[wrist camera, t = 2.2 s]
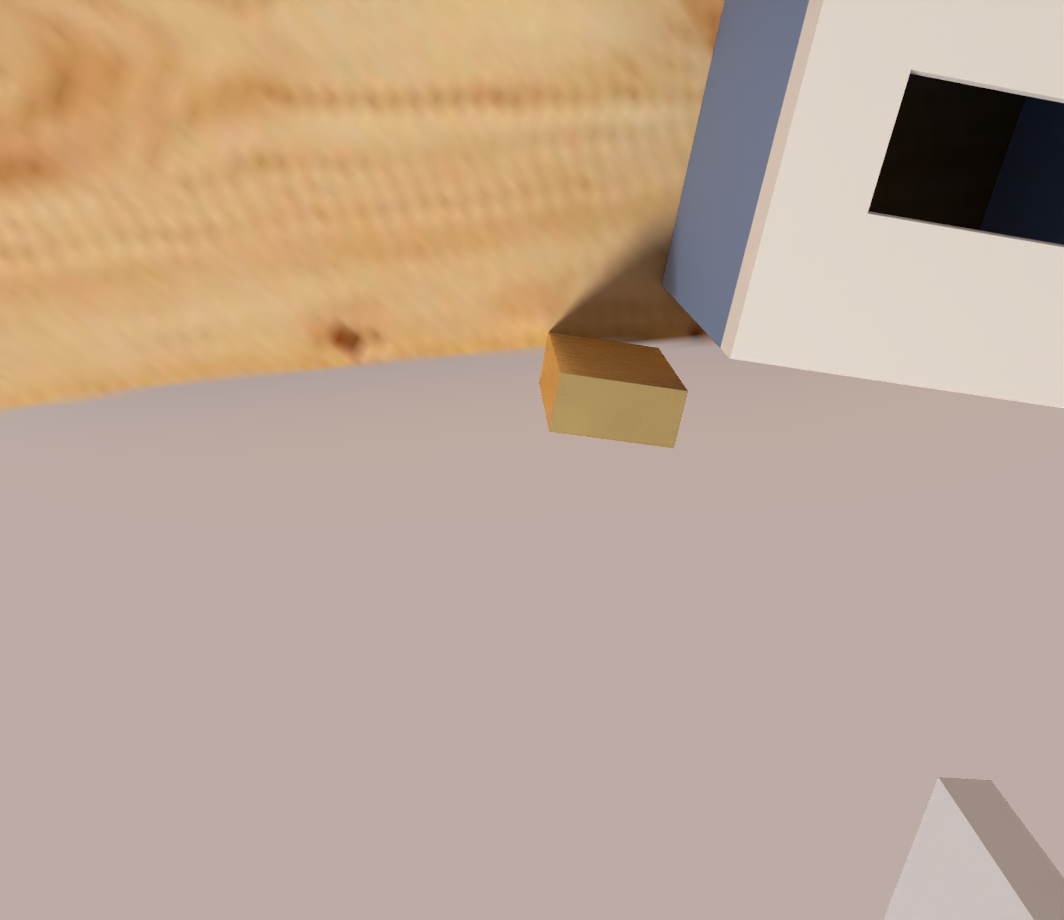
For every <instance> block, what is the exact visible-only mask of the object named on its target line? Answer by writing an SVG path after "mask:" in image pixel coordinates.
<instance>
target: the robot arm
mask: <svg viewBox="0 0 1064 920" xmlns="http://www.w3.org/2000/svg"><path fill="white" fill-rule="evenodd" d="M884 920H1064V878H1063V876H1062V875H1061V874H1060V872H1059V871H1058V870H1057V868H1056V867H1055V866H1054V864H1053V863H1052V862H1051V860H1050V859H1049V858H1048V857H1047V855H1046V854H1045V852H1044V851H1043V850H1042V848H1041V847H1040V846H1039V844H1038V843H1037V841H1035V839H1034V838H1033V836H1032V835H1031V834H1030V832H1029V831H1028V829H1027V828H1026V827H1025V825H1024V824H1023V823H1022V822H1021V820H1020V819H1019V817H1018V816H1017V815H1016V813H1015V812H1014V811H1013V809H1012V808H1011V807H1010V805H1009V804H1008V802H1007V801H1006V800H1005V798H1004V797H1003V796H1002V794H1001V793H1000V792H999V790H998V789H997V788H996V787H995V785H994V784H993V782H992V781H991V780H975V779H959V778H942V777H939V778H938V780H937V782H936V785H935V788H934V790H933V793H932V795H931V798H930V801H929V803H928V806H927V808H926V811H925V814H924V816H923V819H922V821H921V824H920V827H919V829H918V832H917V835H916V837H915V840H914V842H913V845H912V847H911V850H910V853H909V855H908V858H907V860H906V863H905V866H904V869H903V871H902V873H901V876H900V879H899V881H898V884H897V886H896V889H895V892H894V894H893V897H892V899H891V902H890V905H889V907H888V910H887V912H886V915H885V918H884Z"/></svg>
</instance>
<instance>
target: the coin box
mask: <svg viewBox="0 0 1064 920" xmlns="http://www.w3.org/2000/svg"><path fill="white" fill-rule="evenodd" d="M910 74H915V75H920V76H925V77H931V78H936V79H941V80H946V81H951V82H957V83H962V84H967V85H972V86H977V87H982V88H988V89H993V90H998V91H1003V92H1008V93H1013V94H1019V95H1024V96H1026V99H1025V102H1024V105H1023V108H1022V111H1021V113H1020V116H1019V119H1018V122H1017V125H1016V128H1015V130H1014V133H1013V136H1012V139H1011V142H1010V145H1009V147H1008V150H1007V153H1006V156H1005V159H1004V162H1003V164H1002V167H1001V170H1000V173H999V176H998V179H997V181H996V184H995V187H994V190H993V193H992V196H991V198H990V201H989V204H988V207H987V210H986V213H985V215H984V218H983V221H982V224H981V227H980V230H974V229H968V228H963V227H957V226H951V225H945V224H939V223H934V222H928V221H922V220H916V219H910V218H905V217H899V216H893V215H887V214H881V213H876V212H870V211H868V210H869V207H870V204H871V200H872V197H873V194H874V190H875V187H876V184H877V181H878V177H879V174H880V171H881V167H882V164H883V161H884V157H885V154H886V151H887V148H888V144H889V141H890V138H891V134H892V131H893V128H894V124H895V121H896V118H897V115H898V111H899V108H900V105H901V101H902V98H903V95H904V91H905V88H906V85H907V82H908V78H909V75H910ZM662 286H663V287H664V288H665V289H666V290H667V291H668V292H669V294H670V295H671V296H672V297H673V298H674V299H675V300H676V301H677V302H678V303H679V304H680V305H681V306H682V308H683V309H684V310H685V311H686V312H687V313H688V314H689V315H690V316H691V317H692V318H693V319H694V320H695V322H696V323H697V324H698V325H699V326H700V327H701V328H702V329H703V330H704V331H705V332H706V333H707V334H708V336H709V337H710V338H711V339H712V340H713V341H714V342H715V343H716V344H717V345H718V346H719V347H720V348H721V350H723V352H724V353H725V354H726V355H727V356H728V357H729V358H730V359H736V360H743V361H750V362H757V363H763V364H770V365H776V366H783V367H790V368H797V369H803V370H810V371H817V372H823V373H831V374H837V375H844V376H851V377H857V378H864V379H871V380H877V381H884V382H891V383H898V384H904V385H911V386H918V387H924V388H931V389H938V390H945V391H951V392H958V393H965V394H972V395H978V396H985V397H993V398H998V399H1006V400H1012V401H1019V402H1026V403H1032V404H1039V405H1046V406H1052V407H1060V408H1064V0H725V3H724V7H723V12H722V16H721V20H720V25H719V29H718V34H717V38H716V43H715V47H714V52H713V56H712V61H711V65H710V70H709V74H708V79H707V83H706V88H705V92H704V97H703V101H702V106H701V110H700V115H699V119H698V124H697V128H696V133H695V137H694V142H693V146H692V151H691V155H690V159H689V164H688V168H687V173H686V177H685V182H684V186H683V191H682V195H681V200H680V204H679V209H678V213H677V218H676V222H675V227H674V231H673V236H672V240H671V245H670V249H669V254H668V258H667V263H666V267H665V272H664V276H663V281H662Z"/></svg>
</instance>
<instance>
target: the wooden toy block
mask: <svg viewBox="0 0 1064 920" xmlns="http://www.w3.org/2000/svg"><path fill="white" fill-rule="evenodd" d="M539 384H540V388H541V393H542V398H543V403H544V407H545V412H546V417H547V422H548V426H549V431H550V432H558V433H565V434H572V435H579V436H587V437H595V438H601V439H609V440H617V441H624V442H631V443H639V444H646V445H653V446H661V447H668V448H674V445H675V441H676V437H677V433H678V429H679V425H680V421H681V417H682V413H683V409H684V405H685V401H686V397H687V393H688V391H687V389H686V388H685V386H684V385H683V383H682V382H681V380H680V379H679V378H678V376H677V375H676V373H675V372H674V370H673V369H672V367H671V366H670V364H669V363H668V362H667V360H666V359H665V357H664V356H663V354H662V353H661V351H660V350H659V348H654V347H648V346H641V345H634V344H627V343H620V342H614V341H607V340H600V339H593V338H587V337H580V336H573V335H566V334H560V333H553V332H548V338H547V343H546V349H545V354H544V360H543V366H542V371H541V377H540V382H539Z"/></svg>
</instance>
